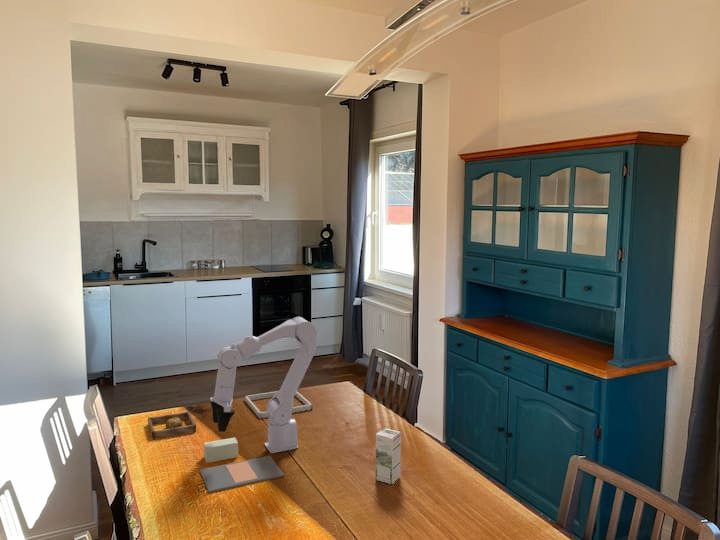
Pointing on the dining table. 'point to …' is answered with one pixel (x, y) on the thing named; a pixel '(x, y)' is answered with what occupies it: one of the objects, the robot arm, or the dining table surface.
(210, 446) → the block
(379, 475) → the syrup box
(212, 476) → the mat
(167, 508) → the dining table surface
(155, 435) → the fruit rim
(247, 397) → the box rim
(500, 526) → the dining table surface
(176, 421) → the fruit
